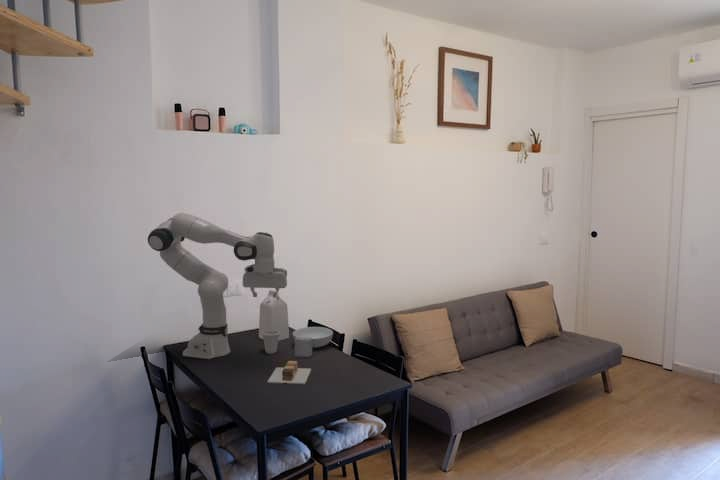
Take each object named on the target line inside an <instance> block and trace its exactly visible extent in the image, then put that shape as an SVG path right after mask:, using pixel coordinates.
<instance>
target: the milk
mask: <svg viewBox="0 0 720 480" xmlns="http://www.w3.org/2000/svg"><path fill="white" fill-rule="evenodd" d="M276 291H277V290H274V289H269V291H268V294H267V295H266V296H265V297H264V299H263V300H261V302H260V304H259V319H258V321H259V322H258V338H259V339H262V340H264V338H263V334H262V333H263V332H264V331H266V330H277V331H279V332H280V333H279V338H278V342H279V341H282V340H287V339H289V338H290V328H289V327H290V326H289V312H288V309H289V308H288V304H287V303H286V302H285V300H283V299H282V298H281V297H280V295H279V294H280V293H279V292H278V293H277V298H273V294H274V293H276ZM286 338H287V339H286Z"/></svg>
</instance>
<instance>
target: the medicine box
mask: <svg viewBox="0 0 720 480" xmlns="http://www.w3.org/2000/svg"><path fill="white" fill-rule="evenodd" d="M293 340H294V339H293ZM312 355H313V348H312V338H309V337H296V339H295V340H294V357H295V358H296V357H298V358H300V357H301V358H302V357H303V358H311V356H312Z"/></svg>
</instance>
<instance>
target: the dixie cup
mask: <svg viewBox="0 0 720 480" xmlns="http://www.w3.org/2000/svg"><path fill="white" fill-rule="evenodd" d="M279 333H280V332H279V331H277V330H266V331H264V332H263V333H262V334H263V338H264V339H263V343H264V351H265V354H276V353H277V352H278V343H279V341H278V338H279Z"/></svg>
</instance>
